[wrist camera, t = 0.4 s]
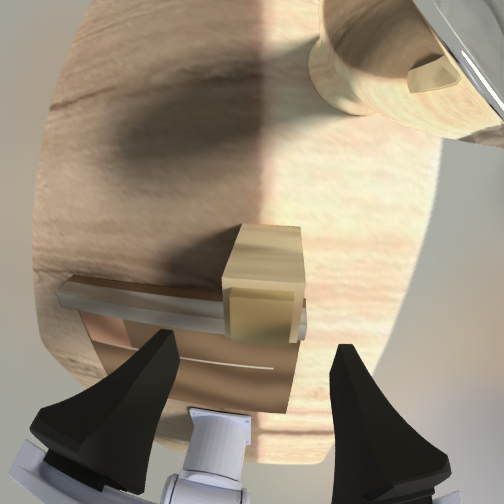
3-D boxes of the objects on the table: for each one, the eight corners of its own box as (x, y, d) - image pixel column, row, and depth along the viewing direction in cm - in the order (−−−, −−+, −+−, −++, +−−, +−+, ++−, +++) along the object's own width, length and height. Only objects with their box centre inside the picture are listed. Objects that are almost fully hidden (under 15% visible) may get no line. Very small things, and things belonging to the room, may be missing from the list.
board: (286, 405, 29) (284, 427, 27) (115, 377, 31) (106, 394, 29) (305, 298, 22) (307, 325, 19) (74, 274, 24) (56, 292, 21)
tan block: (295, 276, 21) (296, 353, 14) (242, 272, 22) (222, 347, 15) (300, 226, 19) (306, 293, 13) (242, 223, 20) (218, 286, 13)
